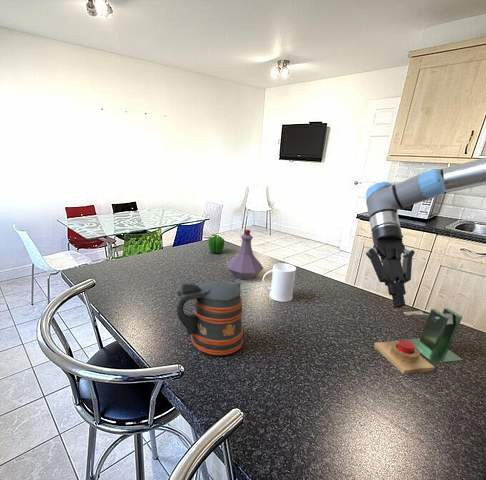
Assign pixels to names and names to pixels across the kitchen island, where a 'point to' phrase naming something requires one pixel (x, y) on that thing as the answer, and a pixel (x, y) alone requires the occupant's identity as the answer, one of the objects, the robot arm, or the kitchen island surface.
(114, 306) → the kitchen island surface
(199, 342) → the beer stein
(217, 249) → the bell pepper
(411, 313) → the lever
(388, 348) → the button block
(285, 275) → the mug
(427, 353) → the bracket
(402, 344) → the button
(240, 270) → the flask
